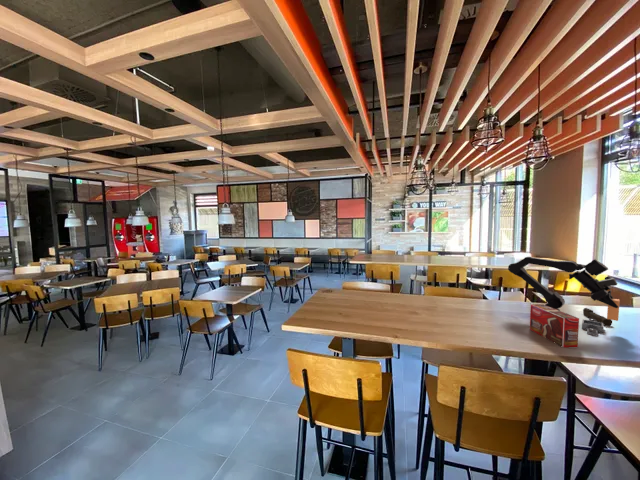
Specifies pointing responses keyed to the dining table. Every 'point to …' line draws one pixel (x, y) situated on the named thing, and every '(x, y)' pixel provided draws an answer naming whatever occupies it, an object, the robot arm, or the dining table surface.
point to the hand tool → (597, 317)
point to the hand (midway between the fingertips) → (617, 306)
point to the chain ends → (592, 326)
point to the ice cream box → (554, 325)
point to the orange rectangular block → (613, 311)
